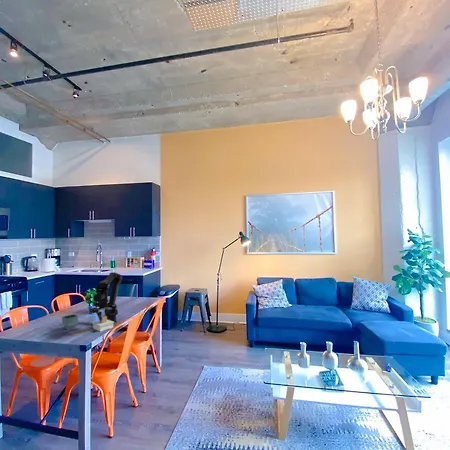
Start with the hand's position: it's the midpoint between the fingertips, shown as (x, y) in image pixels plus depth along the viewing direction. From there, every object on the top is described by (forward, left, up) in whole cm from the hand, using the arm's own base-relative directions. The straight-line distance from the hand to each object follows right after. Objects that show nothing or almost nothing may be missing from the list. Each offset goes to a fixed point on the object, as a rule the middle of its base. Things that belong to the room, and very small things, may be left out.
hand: (103, 319), depth 205 cm
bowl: (0, 0, -7) cm, 7 cm away
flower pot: (+14, -22, -7) cm, 27 cm away
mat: (+13, -7, -7) cm, 16 cm away
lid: (0, 0, -3) cm, 3 cm away
